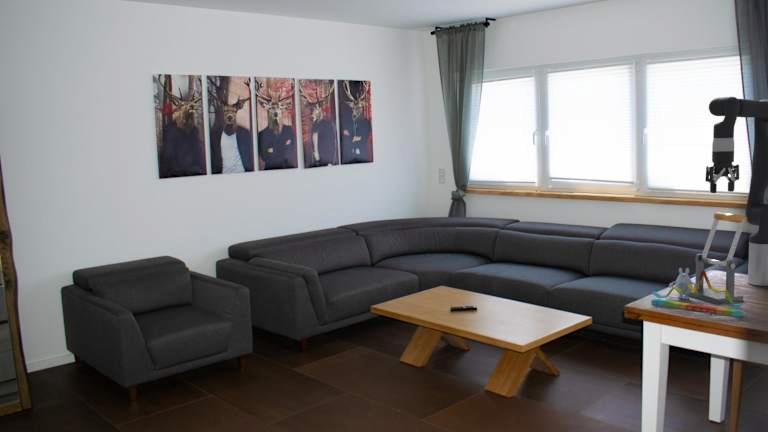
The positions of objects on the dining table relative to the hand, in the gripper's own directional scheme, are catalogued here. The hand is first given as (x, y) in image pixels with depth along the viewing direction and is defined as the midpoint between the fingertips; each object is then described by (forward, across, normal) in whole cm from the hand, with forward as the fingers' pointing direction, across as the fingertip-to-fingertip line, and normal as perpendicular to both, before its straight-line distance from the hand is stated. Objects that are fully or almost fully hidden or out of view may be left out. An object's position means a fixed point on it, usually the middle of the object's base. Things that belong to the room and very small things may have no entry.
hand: (722, 192), depth 263 cm
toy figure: (+40, +17, -1) cm, 44 cm away
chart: (+41, +25, +13) cm, 50 cm away
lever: (+26, +6, +4) cm, 27 cm away
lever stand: (+40, +6, +4) cm, 41 cm away
